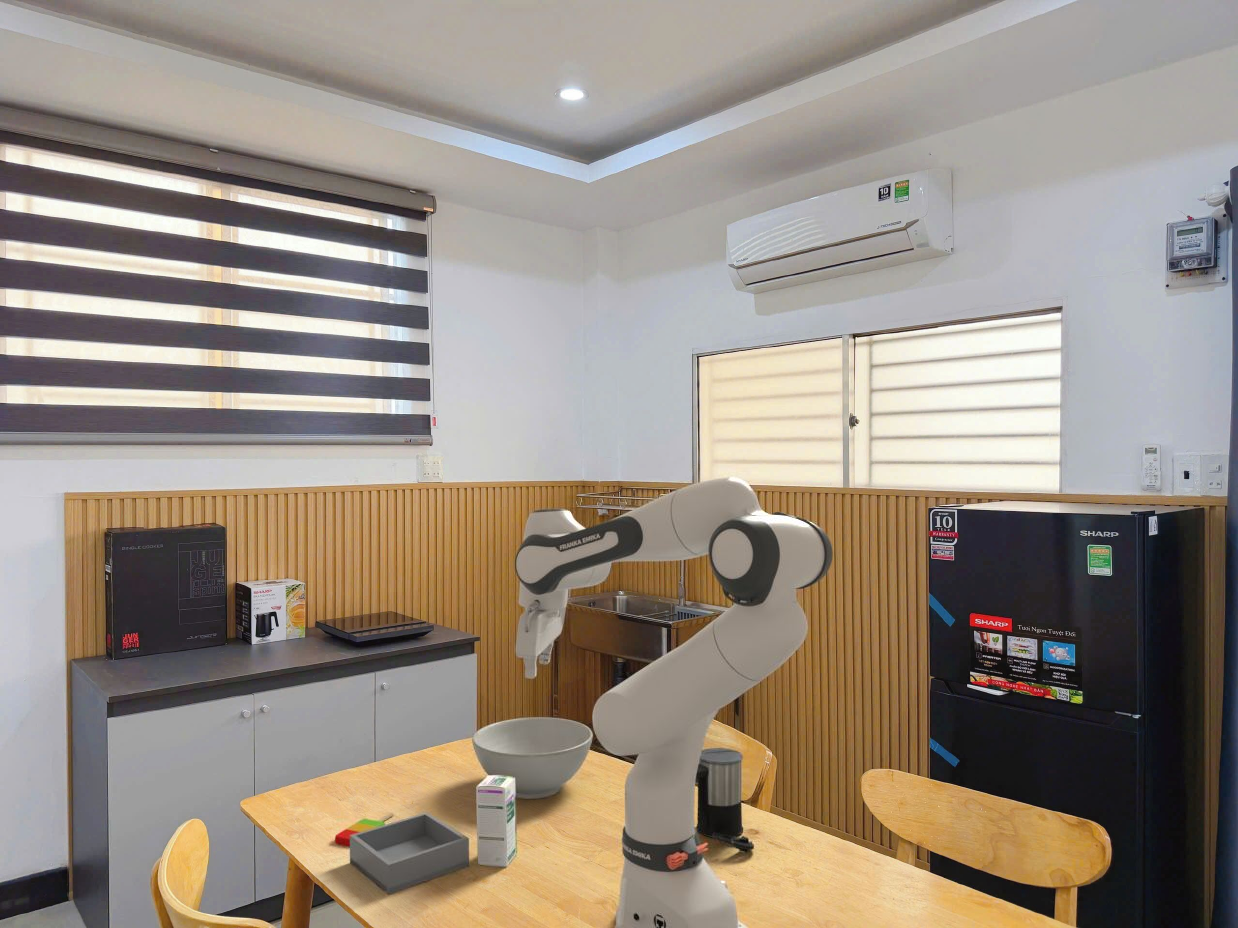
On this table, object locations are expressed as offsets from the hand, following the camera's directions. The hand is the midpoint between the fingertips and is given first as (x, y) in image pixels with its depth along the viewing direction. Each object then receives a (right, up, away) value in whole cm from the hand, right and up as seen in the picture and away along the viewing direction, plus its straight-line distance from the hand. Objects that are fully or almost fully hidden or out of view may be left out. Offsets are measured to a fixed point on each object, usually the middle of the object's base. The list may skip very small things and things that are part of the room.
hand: (537, 670), depth 157 cm
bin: (-23, -35, -2) cm, 42 cm away
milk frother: (+36, -35, +8) cm, 50 cm away
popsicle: (-35, -36, +13) cm, 52 cm away
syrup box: (-7, -35, 0) cm, 36 cm away
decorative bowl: (-4, -35, +35) cm, 49 cm away
